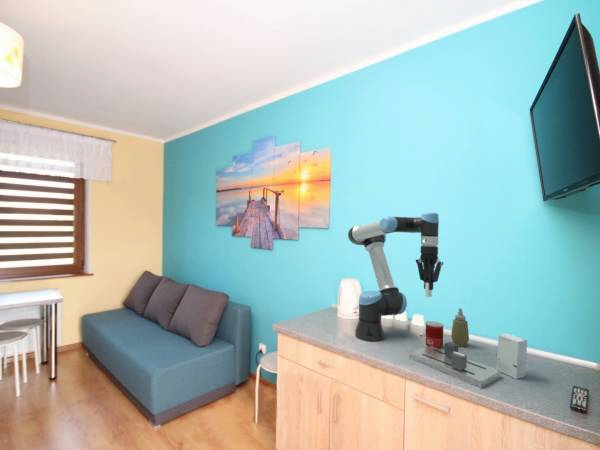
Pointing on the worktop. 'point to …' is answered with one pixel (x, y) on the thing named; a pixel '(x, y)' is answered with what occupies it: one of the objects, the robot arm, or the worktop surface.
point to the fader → (458, 360)
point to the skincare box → (511, 355)
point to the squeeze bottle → (460, 329)
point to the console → (442, 362)
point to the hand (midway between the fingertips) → (428, 296)
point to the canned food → (434, 334)
